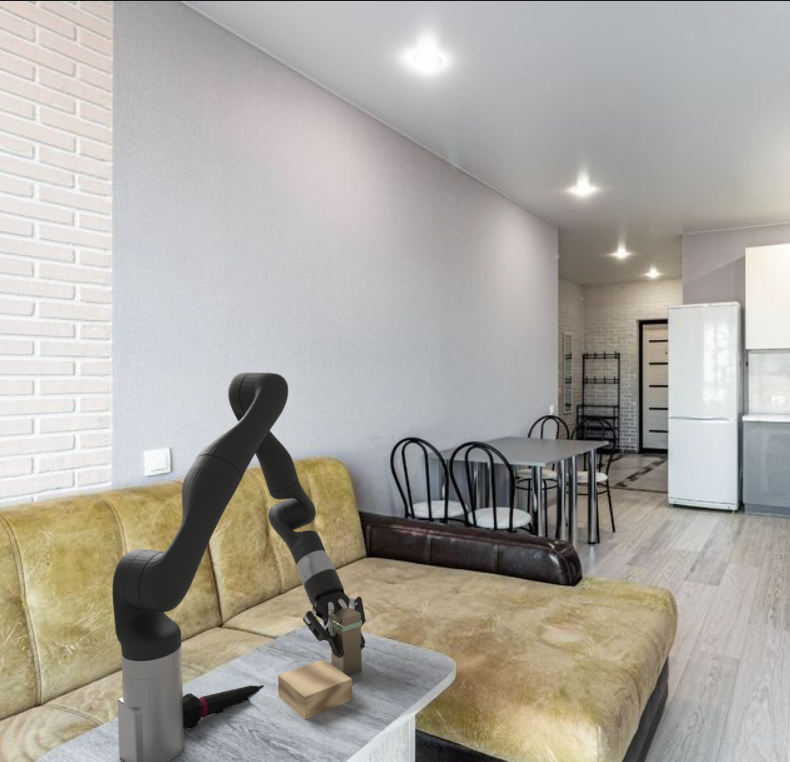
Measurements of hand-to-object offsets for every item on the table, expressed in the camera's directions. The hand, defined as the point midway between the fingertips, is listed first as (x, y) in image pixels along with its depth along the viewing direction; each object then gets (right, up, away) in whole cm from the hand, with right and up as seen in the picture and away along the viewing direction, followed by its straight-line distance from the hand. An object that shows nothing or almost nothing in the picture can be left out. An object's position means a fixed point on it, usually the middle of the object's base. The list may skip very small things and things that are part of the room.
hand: (351, 652), depth 126 cm
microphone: (-23, -7, -11) cm, 26 cm away
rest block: (-6, -6, -9) cm, 12 cm away
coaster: (-1, -6, +2) cm, 6 cm away
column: (-1, -5, +2) cm, 5 cm away
